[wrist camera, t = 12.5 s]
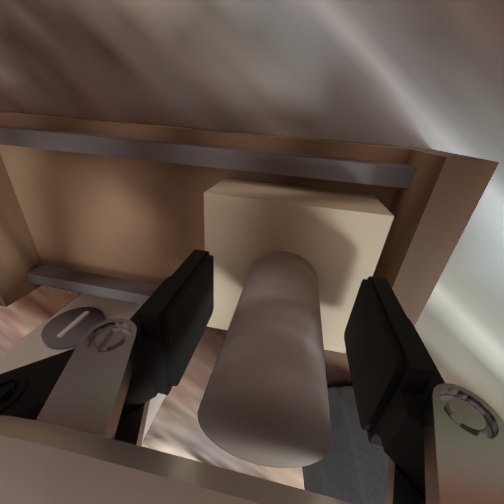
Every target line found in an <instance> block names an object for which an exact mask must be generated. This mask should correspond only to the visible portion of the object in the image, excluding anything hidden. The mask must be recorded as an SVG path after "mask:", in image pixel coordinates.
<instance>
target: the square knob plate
mask: <svg viewBox="0 0 504 504" xmlns="http://www.w3.org/2000/svg"><path fill="white" fill-rule="evenodd" d="M393 219H394V215H393V214H392V213H391V212H390V211H389V210H388V209H387V208H386V207H385V206H384V205H383V204H382V203H381V202H380V201H379V200H378V199H377V198H376V197H375V196H374V195H370V194H361V193H352V192H343V191H335V190H326V189H317V188H308V187H299V186H291V185H282V184H273V183H264V182H255V181H247V180H238V179H229V178H224V179H223V180H222V181H220V182H219V183H217V184H216V185H214V186H213V187H211V188H210V189H208V190H207V191H205V192H204V234H205V251H209V254H210V255H213V257H214V308H213V313H212V316H211V318H210V320H209V322H208V324H207V327H213V328H218V329H223V330H228V331H227V333H226V336H225V339H224V341H223V344H222V347H221V350H220V352H219V355H218V358H217V360H216V363H215V366H214V369H213V371H212V374H211V377H210V379H209V382H208V385H207V388H206V390H205V393H204V396H203V398H202V401H201V404H200V407H199V410H198V421H199V424H200V427H201V428H202V430H203V432H204V433H205V434H206V436H207V437H208V438H209V439H210V440H211V441H212V442H213V443H215V444H216V445H217V446H218V447H220V448H221V449H223V450H224V451H226V452H228V453H229V454H231V455H233V456H235V457H238V458H240V459H242V460H245V461H248V462H251V463H254V464H258V465H263V466H268V467H276V468H296V467H303V466H307V465H310V464H313V463H316V462H318V461H320V460H321V459H322V458H324V457H325V456H326V455H327V454H328V452H329V451H330V449H331V445H332V433H331V422H330V411H329V400H328V389H327V378H326V367H325V356H324V349H325V350H330V351H336V352H341V353H345V351H346V347H345V341H344V332H345V329H346V326H347V323H348V320H349V317H350V314H351V311H352V308H353V305H354V302H355V299H356V296H357V293H358V290H359V288H360V285H361V282H362V280H363V279H367V278H368V277H369V276H372V277H373V274H374V271H375V268H376V266H377V263H378V260H379V257H380V255H381V252H382V249H383V246H384V244H385V241H386V238H387V235H388V232H389V230H390V227H391V224H392V221H393Z"/></svg>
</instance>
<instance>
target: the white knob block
mask: <svg viewBox="0 0 504 504" xmlns="http://www.w3.org/2000/svg"><path fill="white" fill-rule="evenodd" d="M142 305H143V304H138V303H133V302H127V301H122V300H117V299H112V298H106V297H101V296H96V295H90V294H85V293H82V294H81V295H79V296H78V297H77V298H75V299H74V300H73V301H71V302H70V303H69V304H68V305H66V306H65V307H64V308H62V309H61V310H60V311H58V312H57V313H56V314H54V315H53V316H52V317H50V318H49V319H48V320H47V321H45V322H44V323H43V324H41V325H40V326H39V327H37V328H36V329H35V330H33V331H32V332H31V333H30V334H28V335H27V336H26V337H24V338H23V339H22V340H20V341H19V342H18V343H16V344H15V345H14V346H12V347H11V348H10V349H9V350H7V351H6V352H5V353H3V354H2V355H1V356H0V374H2V373H5V372H8V371H10V370H13V369H16V368H19V367H22V366H25V365H28V364H30V363H33V362H36V361H39V360H42V359H45V358H48V357H50V356H53V355H56V354H59V353H62V352H65V351H68V350H71V349H73V348H76V346H77V345H78V343H79V341H80V339H81V338H82V336H83V335H84V334H85V332H86V331H88V330H89V329H90V328H91V327H92V326H94V325H96V324H98V323H100V322H102V321H105V320H108V319H114V318H125V319H128V320H129V319H130V318H131V317H132V316H133V315H134V314H135V313H136V312H137V310H138V309H139V308H140V307H141V306H142ZM165 396H166V395H164V394H160V393H158V394H157V395H156V397H154V398H152V399H150V403H149V408H148V413H147V418H146V424H145V429H144V434H143V439H144V437H145V435H146V433H147V431H148V429H149V427H150V425H151V423H152V421H153V419H154V417H155V415H156V413H157V411H158V409H159V407H160V406H161V404H162V402H163V400H164V398H165ZM143 439H142V441H143Z"/></svg>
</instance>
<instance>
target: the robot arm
mask: <svg viewBox="0 0 504 504" xmlns="http://www.w3.org/2000/svg"><path fill="white" fill-rule="evenodd" d="M213 308H214V257H213V255H210V254H209V251H204V250H197V249H195V250H193V252H192V253H191V254H190V255H189V256H188V257H187V258H186V260H185V261H184V262H183V263H182V264H181V265H180V266H179V268H178V269H177V270H176V271H175V272H174V273H173V274H172V276H171V277H167V278H166V279H165V280H164V281H163V282H162V284H161V285H160V286H159V287H158V288H157V289H156V290H155V291H154V293H153V294H152V295H151V296H150V297H149V298H148V299H147V300H146V302H145V303H144V304H143V305H142V306H141V307H140V308H139V309H138V310H137V312H136V313H135V314H134V315H133V316H132V317H131V318H130V319H129V320H128V319H125V318H114V319H108V320H105V321H102V322H100V323H98V324H96V325H94V326H92V327H91V328H90V329H89V330H88V331H86V332H85V334H84V335H83V336H82V338H81V339H80V341H79V343H78V345H77V346H76V348H73V349H71V350H68V351H65V352H62V353H59V354H56V355H53V356H50V357H48V358H45V359H42V360H39V361H36V362H33V363H30V364H28V365H25V366H22V367H19V368H16V369H13V370H10V371H8V372H5V373H2V374H0V504H353V503H350V502H346V501H342V500H339V499H335V498H332V497H328V496H324V495H320V494H317V493H313V492H309V491H306V490H302V489H298V488H295V487H291V486H287V485H283V484H280V483H276V482H272V481H269V480H265V479H261V478H258V477H254V476H250V475H246V474H243V473H239V472H235V471H232V470H228V469H224V468H220V467H217V466H213V465H209V464H205V463H202V462H198V461H194V460H191V459H187V458H183V457H179V456H175V455H172V454H168V453H164V452H160V451H156V450H153V449H149V448H145V447H141V445H142V439H143V434H144V429H145V424H146V418H147V413H148V408H149V403H150V399H152V398H154V397H156V395H157V394H158V393H160V394H164V395H168V394H169V392H170V390H171V388H172V386H177V385H178V384H179V382H180V380H181V378H182V376H183V374H184V372H185V370H186V368H187V365H188V363H189V361H190V359H191V357H192V355H193V353H194V351H195V349H196V347H197V345H198V343H199V341H200V338H201V336H202V334H203V332H204V330H205V328H206V326H207V324H208V322H209V320H210V318H211V316H212V313H213ZM344 341H345V347H346V352H347V357H348V363H349V368H350V373H351V378H352V384H353V389H354V394H355V399H356V405H357V410H358V415H359V421H360V425H361V428H362V429H363V430H367V435H368V440H369V443H371V444H375V445H379V446H383V449H384V452H385V453H386V454H387V455H388V456H389V466H388V479H387V492H386V504H504V422H503V420H502V419H501V417H500V416H499V415H498V414H497V412H496V411H495V410H494V409H493V408H492V407H491V406H490V405H489V404H488V403H487V402H486V401H484V400H483V399H482V398H480V397H479V396H477V395H476V394H475V393H473V392H471V391H469V390H467V389H465V388H463V387H461V386H458V385H455V384H448V383H445V382H444V380H443V379H442V377H441V375H440V373H439V371H438V369H437V368H436V366H435V364H434V362H433V360H432V358H431V357H430V355H429V353H428V351H427V349H426V347H425V346H424V344H423V342H422V340H421V338H420V337H419V335H418V333H417V331H416V329H415V327H414V326H413V324H412V322H411V321H410V319H409V318H407V316H406V314H405V312H404V310H403V308H402V307H401V305H400V303H399V301H398V299H397V297H396V295H395V294H394V292H393V290H392V288H391V286H390V284H389V282H388V281H387V279H385V278H379V277H372V276H369V277H368V278H367V279H363V280H362V282H361V285H360V288H359V290H358V293H357V296H356V299H355V302H354V305H353V308H352V311H351V314H350V317H349V320H348V323H347V326H346V329H345V332H344Z"/></svg>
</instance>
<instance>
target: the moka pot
mask: <svg viewBox="0 0 504 504" xmlns="http://www.w3.org/2000/svg"><path fill="white" fill-rule="evenodd" d="M327 389H328V400H329V411H330V422H331V433H332V445H331V449H330V451H329V452H328V454H327V455H326V456H325V457H324V458H322V459H321V460H320V461H318V462H316V463H313V464H310V465H307V466H303V467H302V469H303V476H304V487H305V490H306V491H309V492H313V493H317V494H320V495H324V496H328V497H332V498H335V499H339V500H342V501H346V502H350V503H353V504H386V492H387V479H388V466H389V456H388V455H387V454H386V453H385V452H384V449H383V446H379V445H375V444H371V443H369V440H368V435H367V430H363V429H362V428H361V425H360V421H359V415H358V410H357V405H356V399H355V394H354V389H353V386H346V385H343V386H333V387H328V388H327Z"/></svg>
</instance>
